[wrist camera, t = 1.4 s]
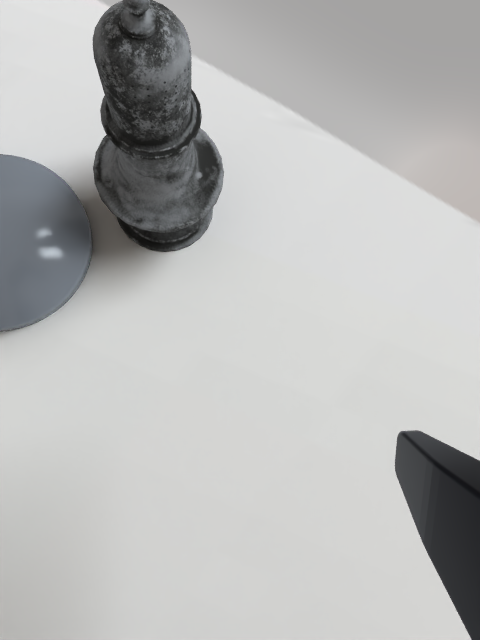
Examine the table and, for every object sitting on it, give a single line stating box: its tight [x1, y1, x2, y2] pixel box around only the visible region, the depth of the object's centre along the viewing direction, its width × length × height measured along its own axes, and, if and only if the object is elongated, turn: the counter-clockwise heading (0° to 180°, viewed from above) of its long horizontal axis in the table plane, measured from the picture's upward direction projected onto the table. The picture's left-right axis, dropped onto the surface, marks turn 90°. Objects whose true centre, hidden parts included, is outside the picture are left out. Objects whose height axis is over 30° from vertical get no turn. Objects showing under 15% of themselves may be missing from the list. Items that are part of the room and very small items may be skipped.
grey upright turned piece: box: [93, 0, 224, 252], centre depth 16 cm, size 6×6×12 cm
